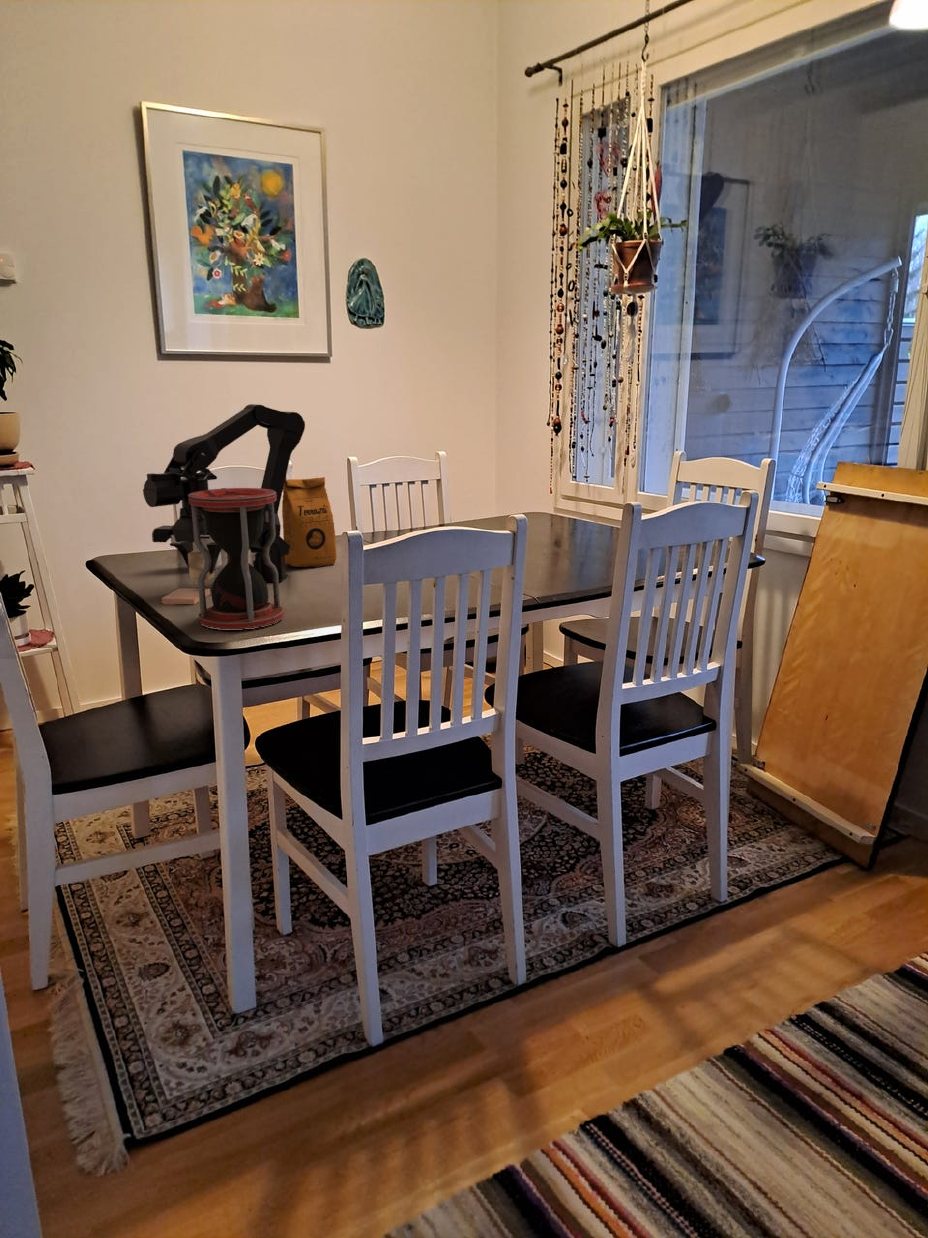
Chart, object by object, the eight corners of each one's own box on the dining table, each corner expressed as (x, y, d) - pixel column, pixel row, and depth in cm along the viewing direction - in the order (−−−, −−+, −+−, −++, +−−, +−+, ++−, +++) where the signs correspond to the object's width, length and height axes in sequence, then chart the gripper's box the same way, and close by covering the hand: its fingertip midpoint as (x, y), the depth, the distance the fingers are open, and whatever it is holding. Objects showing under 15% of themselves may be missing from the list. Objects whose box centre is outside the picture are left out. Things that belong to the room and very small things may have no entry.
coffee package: (340, 566, 215) (336, 478, 210) (292, 571, 210) (286, 481, 204) (328, 559, 224) (324, 474, 218) (281, 563, 219) (276, 477, 213)
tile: (210, 589, 187) (194, 599, 179) (210, 596, 188) (194, 606, 179) (179, 588, 188) (161, 598, 179) (179, 595, 188) (162, 606, 180)
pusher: (214, 576, 190) (212, 550, 188) (208, 580, 186) (205, 553, 184) (197, 576, 190) (194, 549, 188) (190, 580, 186) (187, 553, 185)
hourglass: (270, 605, 178) (263, 485, 171) (294, 624, 164) (287, 494, 158) (191, 615, 171) (180, 490, 164) (209, 636, 157) (197, 500, 150)
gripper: (136, 507, 176) (144, 580, 181) (224, 508, 175) (230, 582, 179) (159, 499, 187) (166, 569, 191) (242, 500, 185) (248, 570, 190)
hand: (202, 573), depth 188 cm, fingers closed on pusher, 4 cm apart
